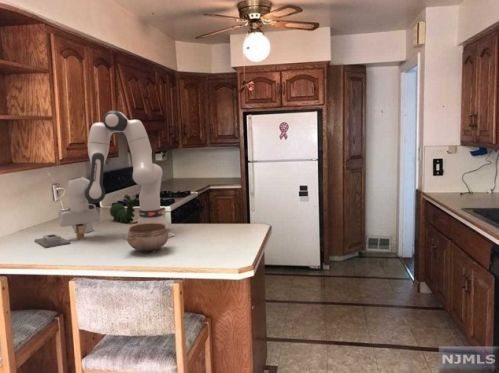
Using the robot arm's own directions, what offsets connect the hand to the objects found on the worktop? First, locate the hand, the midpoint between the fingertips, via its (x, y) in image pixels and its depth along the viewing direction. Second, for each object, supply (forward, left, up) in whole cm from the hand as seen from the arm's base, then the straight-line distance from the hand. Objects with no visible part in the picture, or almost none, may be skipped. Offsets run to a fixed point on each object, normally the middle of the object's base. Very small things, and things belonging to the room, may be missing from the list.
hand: (80, 232), depth 232 cm
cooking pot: (-51, -14, -4) cm, 53 cm away
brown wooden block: (0, 0, -4) cm, 4 cm away
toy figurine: (+27, -36, -4) cm, 46 cm away
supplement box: (+16, -8, -4) cm, 18 cm away
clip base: (+2, +14, -4) cm, 15 cm away
